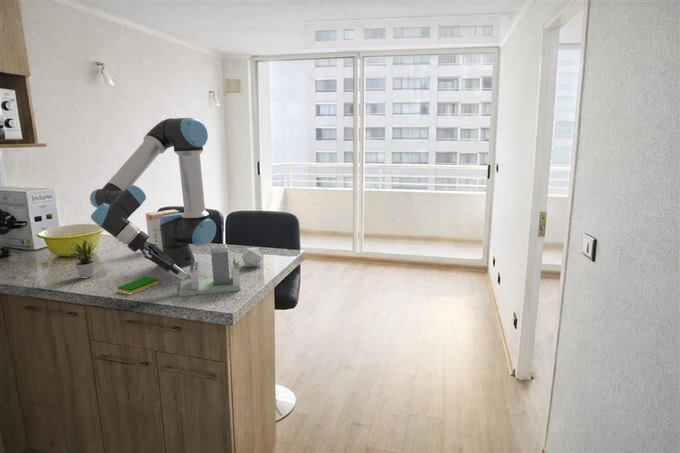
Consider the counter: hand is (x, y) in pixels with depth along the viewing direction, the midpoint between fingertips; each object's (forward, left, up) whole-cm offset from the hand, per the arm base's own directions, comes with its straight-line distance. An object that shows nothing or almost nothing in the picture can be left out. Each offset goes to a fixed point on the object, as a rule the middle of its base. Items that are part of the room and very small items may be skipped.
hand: (185, 277), depth 168 cm
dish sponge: (-8, -18, -6) cm, 21 cm away
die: (-24, +27, -5) cm, 37 cm away
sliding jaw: (0, +4, -3) cm, 5 cm away
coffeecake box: (-69, -14, -5) cm, 71 cm away
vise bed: (0, +9, -5) cm, 10 cm away
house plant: (-30, -42, -5) cm, 52 cm away
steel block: (0, +13, -3) cm, 14 cm away
